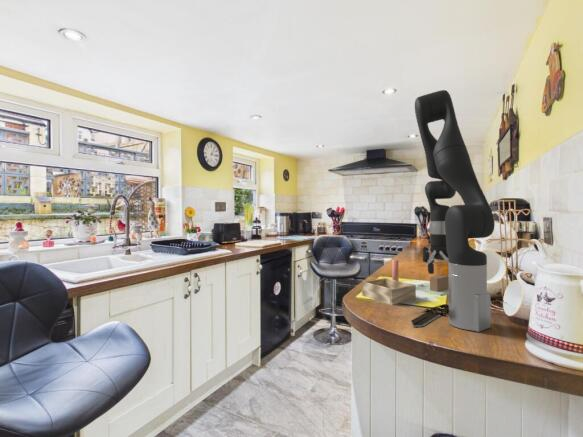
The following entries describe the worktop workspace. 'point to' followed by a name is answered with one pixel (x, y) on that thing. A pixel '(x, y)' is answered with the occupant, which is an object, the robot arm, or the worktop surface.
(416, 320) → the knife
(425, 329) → the worktop surface
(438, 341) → the worktop surface
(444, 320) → the worktop surface
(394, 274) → the rounded rod
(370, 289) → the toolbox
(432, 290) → the lid
